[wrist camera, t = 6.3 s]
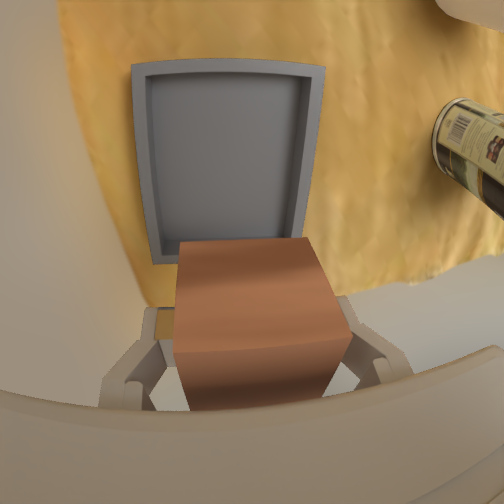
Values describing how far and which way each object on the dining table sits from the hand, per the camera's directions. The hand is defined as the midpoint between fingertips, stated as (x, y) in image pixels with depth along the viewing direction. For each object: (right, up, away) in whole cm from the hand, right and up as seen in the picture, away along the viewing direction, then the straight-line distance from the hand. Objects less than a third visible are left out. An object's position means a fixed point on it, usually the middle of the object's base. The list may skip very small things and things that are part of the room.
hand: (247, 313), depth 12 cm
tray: (-2, +11, +14) cm, 18 cm away
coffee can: (+25, +16, +15) cm, 33 cm away
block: (0, +1, +1) cm, 2 cm away
